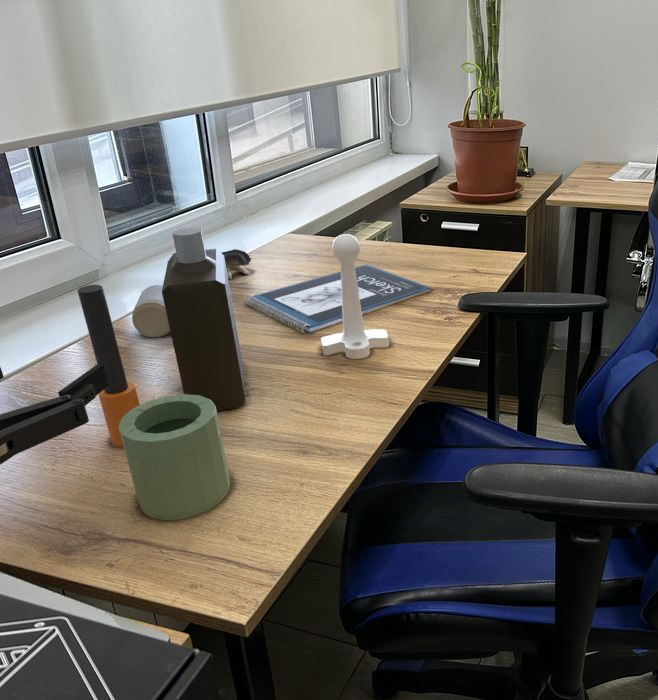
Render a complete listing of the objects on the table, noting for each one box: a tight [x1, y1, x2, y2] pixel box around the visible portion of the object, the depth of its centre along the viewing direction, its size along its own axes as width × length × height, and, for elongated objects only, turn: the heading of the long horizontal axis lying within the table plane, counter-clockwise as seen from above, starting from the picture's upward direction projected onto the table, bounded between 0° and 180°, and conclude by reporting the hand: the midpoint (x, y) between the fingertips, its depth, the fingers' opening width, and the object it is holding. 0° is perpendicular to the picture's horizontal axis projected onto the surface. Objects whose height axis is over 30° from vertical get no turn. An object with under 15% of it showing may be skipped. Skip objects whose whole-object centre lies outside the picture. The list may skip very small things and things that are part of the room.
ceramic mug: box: [131, 284, 171, 339], centre depth 127 cm, size 11×8×8 cm
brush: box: [77, 284, 141, 448], centre depth 91 cm, size 4×4×22 cm
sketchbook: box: [245, 264, 432, 334], centre depth 141 cm, size 22×30×2 cm
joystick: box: [320, 233, 390, 360], centre depth 115 cm, size 11×8×20 cm
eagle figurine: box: [221, 248, 252, 280], centre depth 153 cm, size 8×7×9 cm
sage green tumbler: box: [118, 393, 231, 521], centre depth 82 cm, size 10×10×11 cm
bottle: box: [162, 226, 246, 413], centre depth 103 cm, size 8×16×25 cm, turn 18°
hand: (50, 370), depth 81 cm, fingers open, 13 cm apart
